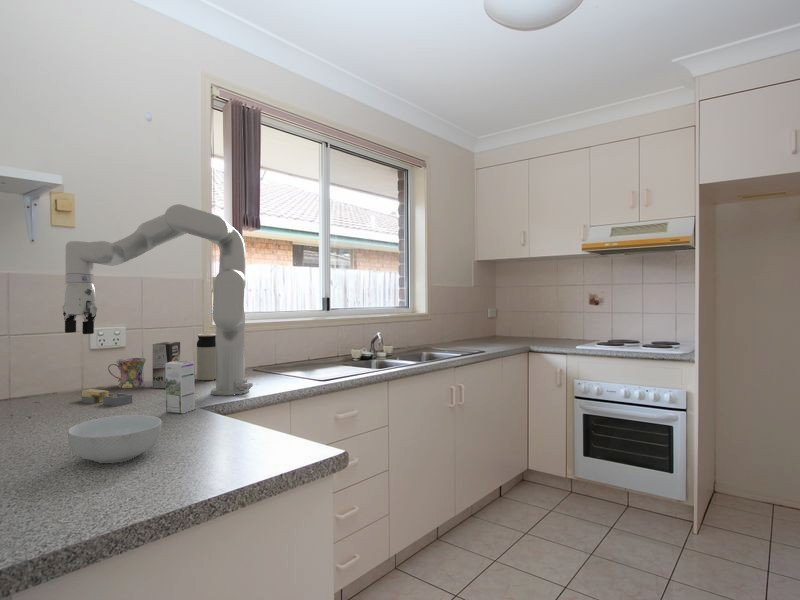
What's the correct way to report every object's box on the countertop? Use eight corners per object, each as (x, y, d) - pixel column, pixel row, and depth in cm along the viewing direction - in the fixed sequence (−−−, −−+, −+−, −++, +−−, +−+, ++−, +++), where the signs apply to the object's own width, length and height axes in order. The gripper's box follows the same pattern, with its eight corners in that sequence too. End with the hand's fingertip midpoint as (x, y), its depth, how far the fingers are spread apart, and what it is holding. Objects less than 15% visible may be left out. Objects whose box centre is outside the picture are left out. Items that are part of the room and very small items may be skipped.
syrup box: (195, 409, 144) (195, 360, 144) (180, 414, 139) (180, 363, 139) (180, 408, 146) (180, 359, 146) (164, 412, 141) (164, 362, 141)
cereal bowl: (59, 477, 92) (58, 439, 91) (77, 451, 107) (77, 418, 107) (160, 464, 98) (159, 429, 98) (163, 441, 114) (163, 411, 113)
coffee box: (169, 388, 177) (169, 343, 177) (151, 388, 177) (151, 343, 177) (181, 383, 186) (181, 341, 186) (164, 383, 186) (164, 341, 186)
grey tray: (158, 400, 157) (158, 388, 157) (85, 417, 135) (85, 404, 135) (126, 396, 163) (126, 385, 163) (50, 412, 141) (50, 399, 141)
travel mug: (198, 381, 191) (198, 335, 190) (195, 378, 197) (195, 334, 197) (219, 379, 195) (219, 334, 194) (216, 376, 201) (216, 333, 201)
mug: (147, 385, 182) (147, 357, 182) (144, 390, 173) (143, 360, 173) (111, 388, 178) (110, 358, 178) (105, 392, 169) (105, 362, 169)
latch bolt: (108, 400, 151) (108, 390, 151) (99, 402, 148) (99, 392, 148) (91, 398, 154) (91, 388, 154) (81, 400, 151) (81, 390, 151)
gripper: (107, 280, 157) (107, 333, 157) (76, 280, 165) (76, 331, 165) (83, 279, 150) (82, 335, 150) (51, 279, 158) (51, 332, 158)
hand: (79, 333), depth 158 cm, fingers open, 9 cm apart
